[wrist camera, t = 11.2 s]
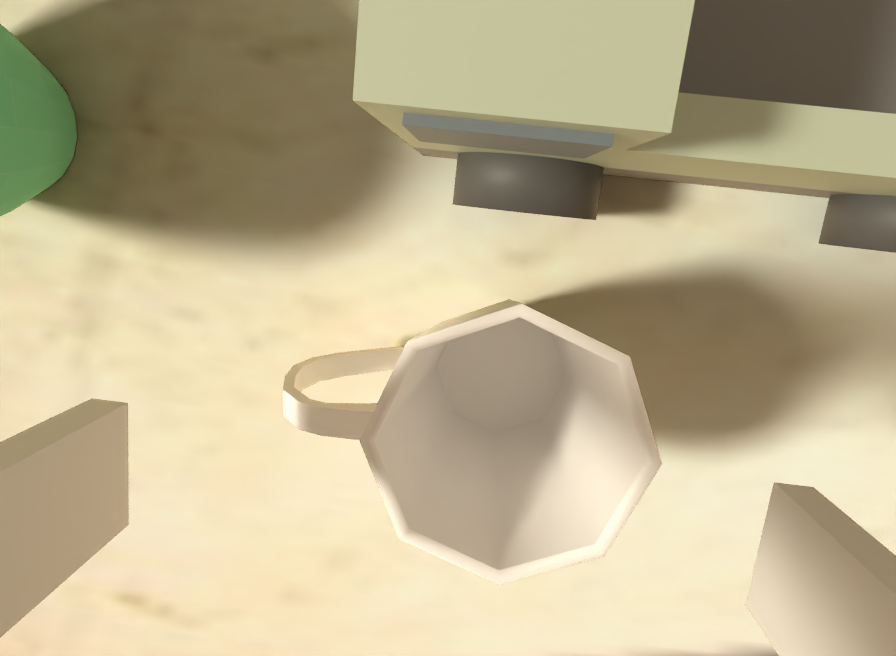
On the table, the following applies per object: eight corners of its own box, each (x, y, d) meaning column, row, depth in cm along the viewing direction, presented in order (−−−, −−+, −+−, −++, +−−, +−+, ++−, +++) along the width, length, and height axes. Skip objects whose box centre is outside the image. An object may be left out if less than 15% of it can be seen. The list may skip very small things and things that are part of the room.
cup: (585, 456, 22) (643, 599, 14) (324, 436, 22) (237, 564, 14) (607, 271, 20) (684, 314, 13) (325, 253, 21) (230, 285, 13)
